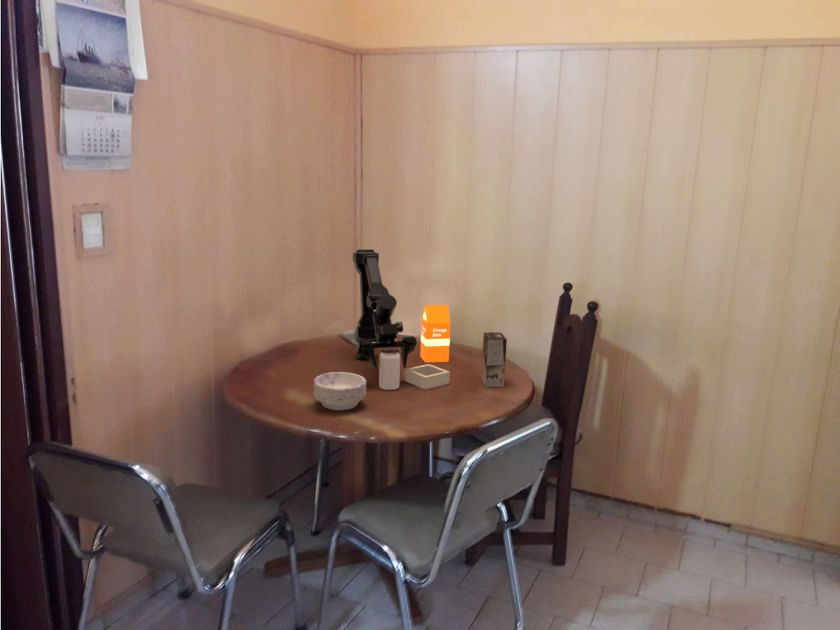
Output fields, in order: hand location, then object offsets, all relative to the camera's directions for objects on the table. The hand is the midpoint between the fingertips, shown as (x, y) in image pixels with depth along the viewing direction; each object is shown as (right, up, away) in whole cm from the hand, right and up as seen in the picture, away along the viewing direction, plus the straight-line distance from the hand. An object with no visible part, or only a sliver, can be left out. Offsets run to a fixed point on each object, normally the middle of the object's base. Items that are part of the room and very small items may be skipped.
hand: (390, 368), depth 215 cm
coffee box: (+33, -6, +11) cm, 35 cm away
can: (-1, -6, +3) cm, 7 cm away
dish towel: (-11, +6, +59) cm, 60 cm away
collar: (+11, -5, +9) cm, 15 cm away
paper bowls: (-14, -10, -14) cm, 22 cm away
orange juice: (+14, +1, +35) cm, 38 cm away
